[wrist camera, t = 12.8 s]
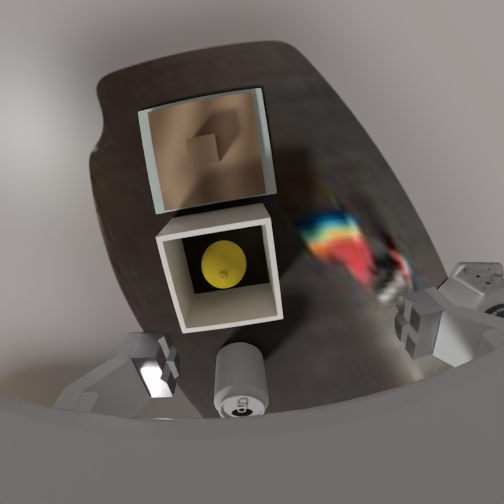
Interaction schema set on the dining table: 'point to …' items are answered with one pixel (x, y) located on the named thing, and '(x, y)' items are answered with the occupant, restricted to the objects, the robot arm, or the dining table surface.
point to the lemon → (223, 264)
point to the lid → (207, 151)
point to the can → (240, 381)
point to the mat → (262, 138)
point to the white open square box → (223, 301)
